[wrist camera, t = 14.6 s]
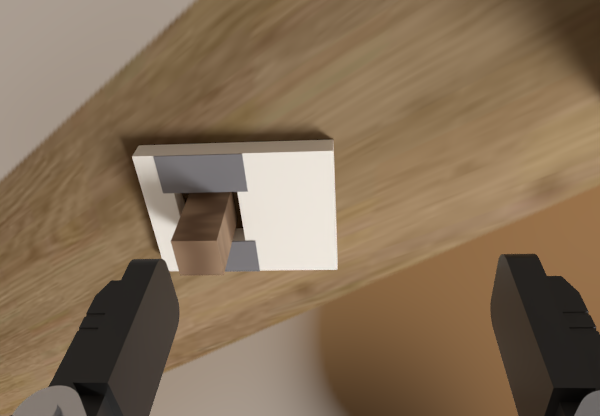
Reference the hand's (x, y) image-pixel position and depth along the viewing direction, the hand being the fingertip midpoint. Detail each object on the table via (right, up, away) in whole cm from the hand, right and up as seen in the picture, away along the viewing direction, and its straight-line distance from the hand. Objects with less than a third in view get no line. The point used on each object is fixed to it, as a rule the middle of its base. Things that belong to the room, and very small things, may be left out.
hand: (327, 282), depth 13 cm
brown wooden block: (-9, +2, +40) cm, 41 cm away
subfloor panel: (-6, +2, +40) cm, 40 cm away
